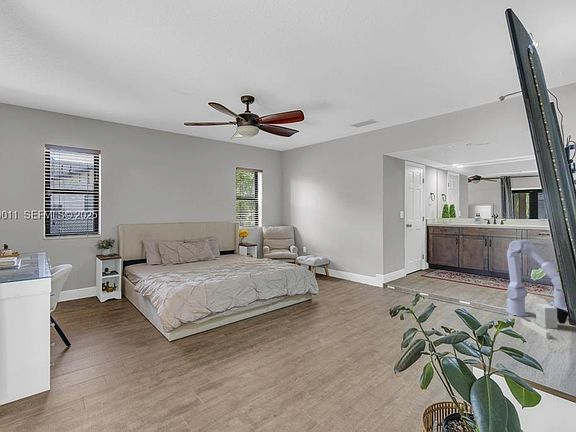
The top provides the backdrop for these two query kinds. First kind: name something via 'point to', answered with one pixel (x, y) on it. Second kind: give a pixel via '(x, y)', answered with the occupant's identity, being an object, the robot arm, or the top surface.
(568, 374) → the top surface
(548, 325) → the small box
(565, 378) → the top surface
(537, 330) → the light grey long bar
